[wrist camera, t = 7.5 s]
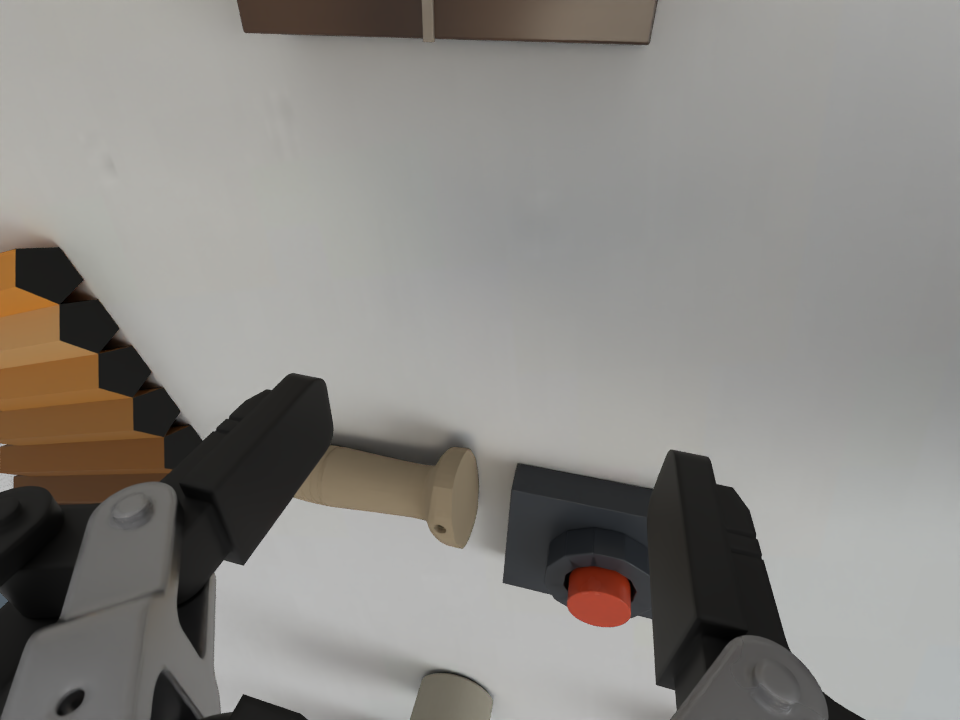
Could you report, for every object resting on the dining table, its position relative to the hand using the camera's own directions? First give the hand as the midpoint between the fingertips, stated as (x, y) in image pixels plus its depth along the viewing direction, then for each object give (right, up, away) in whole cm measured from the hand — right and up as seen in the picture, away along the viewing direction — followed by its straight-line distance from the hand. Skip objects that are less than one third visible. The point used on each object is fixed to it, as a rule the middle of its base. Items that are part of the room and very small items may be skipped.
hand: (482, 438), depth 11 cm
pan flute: (-34, -2, +28) cm, 44 cm away
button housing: (+8, -10, +20) cm, 24 cm away
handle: (-15, -6, +22) cm, 28 cm away
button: (+7, -12, +18) cm, 22 cm away
